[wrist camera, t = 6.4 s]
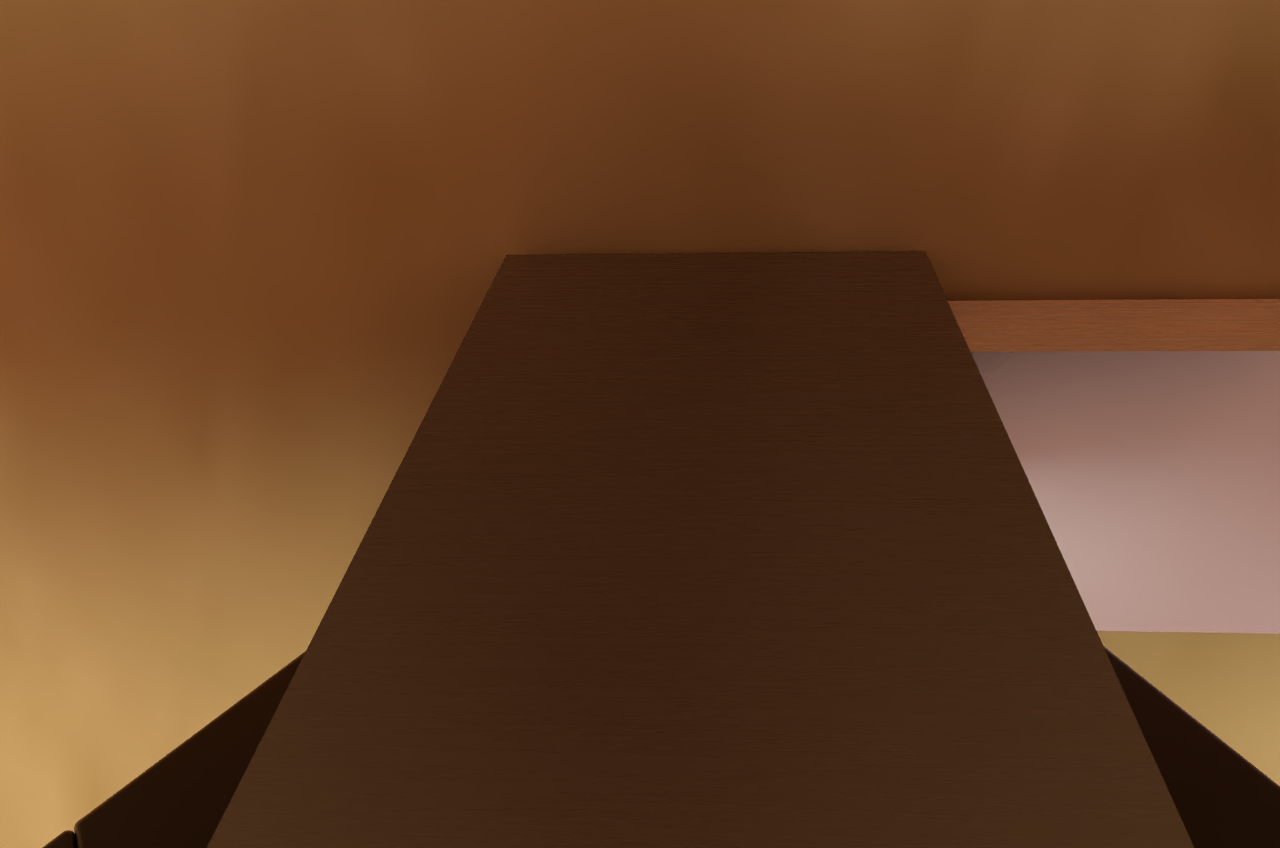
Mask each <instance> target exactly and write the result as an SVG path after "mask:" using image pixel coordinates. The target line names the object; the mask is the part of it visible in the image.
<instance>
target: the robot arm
mask: <svg viewBox="0 0 1280 848" xmlns="http://www.w3.org/2000/svg"><path fill="white" fill-rule="evenodd" d="M1103 647H1104V646H1103ZM1104 649H1105V651H1106V653H1107V655H1108V658H1109V660H1110V662H1111V664H1112V667H1113V669H1114V671H1115V673H1116V675H1117V678H1118V680H1119V682H1120V684H1121V686H1122V689H1123V691H1124V693H1125V695H1126V698H1127V700H1128V702H1129V704H1130V706H1131V709H1132V711H1133V713H1134V715H1135V718H1136V720H1137V722H1138V724H1139V726H1140V729H1141V731H1142V733H1143V735H1144V737H1145V740H1146V742H1147V744H1148V746H1149V749H1150V751H1151V753H1152V755H1153V757H1154V760H1155V762H1156V764H1157V766H1158V769H1159V771H1160V773H1161V775H1162V777H1163V780H1164V782H1165V784H1166V786H1167V788H1168V791H1169V793H1170V795H1171V797H1172V800H1173V802H1174V804H1175V806H1176V808H1177V811H1178V813H1179V815H1180V817H1181V819H1182V822H1183V824H1184V826H1185V828H1186V831H1187V833H1188V835H1189V837H1190V839H1191V842H1192V844H1193V846H1194V848H1280V786H1278V785H1277V784H1276V783H1275V782H1273V781H1272V780H1271V779H1270V778H1268V777H1267V776H1266V775H1265V774H1263V773H1262V772H1261V771H1260V770H1258V769H1257V768H1256V767H1255V766H1253V765H1252V764H1251V763H1250V762H1248V761H1247V760H1246V759H1245V758H1243V757H1242V756H1241V755H1240V754H1238V753H1237V752H1236V751H1235V750H1233V749H1232V748H1231V747H1229V746H1228V745H1227V744H1226V743H1224V742H1223V741H1222V740H1221V739H1219V738H1218V737H1217V736H1216V735H1214V734H1213V733H1212V732H1211V731H1209V730H1208V729H1207V728H1206V727H1204V726H1203V725H1202V724H1201V723H1199V722H1198V721H1197V720H1196V719H1194V718H1193V717H1192V716H1191V715H1189V714H1188V713H1187V712H1186V711H1184V710H1183V709H1182V708H1181V707H1179V706H1178V705H1177V704H1175V703H1174V702H1173V701H1172V700H1170V699H1169V698H1168V697H1167V696H1165V695H1164V694H1163V693H1162V692H1160V691H1159V690H1158V689H1157V688H1155V687H1154V686H1153V685H1152V684H1150V683H1149V682H1148V681H1147V680H1145V679H1144V678H1143V677H1142V676H1140V675H1139V674H1138V673H1137V672H1135V671H1134V670H1133V669H1132V668H1130V667H1129V666H1128V665H1127V664H1125V663H1124V662H1123V661H1121V660H1120V659H1119V658H1118V657H1116V656H1115V655H1114V654H1113V653H1111V652H1110V651H1109V650H1108V649H1106V648H1105V647H1104ZM305 652H306V651H305ZM305 652H304V653H303V654H301V655H300V656H299V657H297V658H296V659H295V660H293V661H292V662H291V663H289V664H288V665H287V666H285V667H284V668H283V669H281V670H280V671H279V672H277V673H276V674H274V675H273V676H272V677H270V678H269V679H268V680H266V681H265V682H264V683H262V684H261V685H260V686H258V687H257V688H256V689H254V690H253V691H252V692H250V693H249V694H248V695H246V696H245V697H244V698H242V699H241V700H240V701H238V702H237V703H236V704H234V705H233V706H232V707H230V708H229V709H228V710H226V711H225V712H224V713H222V714H221V715H220V716H218V717H217V718H216V719H214V720H213V721H212V722H210V723H209V724H208V725H206V726H205V727H204V728H202V729H201V730H200V731H198V732H197V733H196V734H194V735H193V736H192V737H190V738H189V739H188V740H186V741H185V742H184V743H182V744H181V745H180V746H178V747H177V748H176V749H174V750H173V751H172V752H170V753H169V754H168V755H166V756H165V757H163V758H162V759H161V760H159V761H158V762H157V763H155V764H154V765H153V766H151V767H150V768H149V769H147V770H146V771H145V772H143V773H142V774H141V775H139V776H138V777H137V778H135V779H134V780H133V781H131V782H130V783H129V784H127V785H126V786H125V787H123V788H122V789H121V790H119V791H118V792H117V793H115V794H114V795H113V796H111V797H110V798H109V799H107V800H106V801H105V802H103V803H102V804H101V805H99V806H98V807H97V808H95V809H94V810H93V811H91V812H90V813H89V814H87V815H86V816H85V817H83V818H82V819H81V820H79V821H78V822H77V823H76V824H75V827H74V832H75V834H74V832H72V831H70V830H67V831H64V832H63V833H61V834H60V835H59V836H57V837H56V838H55V839H53V840H52V841H51V842H49V843H48V844H47V845H45V846H44V847H43V848H207V846H208V844H209V842H210V840H211V838H212V836H213V834H214V832H215V830H216V828H217V826H218V824H219V822H220V821H221V819H222V817H223V815H224V813H225V811H226V809H227V807H228V805H229V803H230V801H231V799H232V797H233V795H234V793H235V791H236V789H237V787H238V785H239V783H240V781H241V779H242V777H243V775H244V773H245V771H246V769H247V767H248V765H249V763H250V761H251V759H252V757H253V755H254V753H255V751H256V749H257V747H258V745H259V743H260V741H261V739H262V737H263V735H264V733H265V732H266V730H267V728H268V726H269V724H270V722H271V720H272V718H273V716H274V714H275V712H276V710H277V708H278V706H279V704H280V702H281V700H282V698H283V696H284V694H285V692H286V690H287V688H288V686H289V684H290V682H291V680H292V678H293V676H294V674H295V672H296V670H297V668H298V666H299V664H300V662H301V660H302V658H303V656H304V654H305Z"/></svg>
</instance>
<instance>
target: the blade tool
mask: <svg viewBox="0 0 1280 848" xmlns="http://www.w3.org/2000/svg"><path fill="white" fill-rule="evenodd" d="M1097 631H1127V632H1193V633H1260V634H1280V299H1152V300H984V301H947V298H946V296H945V294H944V292H943V290H942V287H941V285H940V283H939V281H938V278H937V276H936V274H935V272H934V270H933V267H932V265H931V263H930V261H929V259H928V256H927V254H926V252H925V251H908V252H798V253H688V254H578V255H506V257H505V259H504V261H503V263H502V265H501V267H500V269H499V271H498V273H497V275H496V277H495V279H494V281H493V283H492V285H491V287H490V289H489V290H488V292H487V294H486V296H485V298H484V300H483V302H482V304H481V306H480V308H479V310H478V312H477V314H476V316H475V318H474V320H473V322H472V324H471V326H470V328H469V330H468V332H467V334H466V336H465V338H464V340H463V342H462V344H461V346H460V348H459V350H458V352H457V354H456V356H455V358H454V360H453V362H452V364H451V366H450V368H449V370H448V372H447V374H446V376H445V377H444V379H443V381H442V383H441V385H440V387H439V389H438V391H437V393H436V395H435V397H434V399H433V401H432V403H431V405H430V407H429V409H428V411H427V413H426V415H425V417H424V419H423V421H422V423H421V425H420V427H419V429H418V431H417V433H416V435H415V437H414V439H413V441H412V443H411V445H410V447H409V449H408V451H407V453H406V455H405V457H404V459H403V461H402V463H401V465H400V466H399V468H398V470H397V472H396V474H395V476H394V478H393V480H392V482H391V484H390V486H389V488H388V490H387V492H386V494H385V496H384V498H383V500H382V502H381V504H380V506H379V508H378V510H377V512H376V514H375V516H374V518H373V520H372V522H371V524H370V526H369V528H368V530H367V532H366V534H365V536H364V538H363V540H362V542H361V544H360V546H359V548H358V550H357V552H356V554H355V555H354V557H353V559H352V561H351V563H350V565H349V567H348V569H347V571H346V573H345V575H344V577H343V579H342V581H341V583H340V585H339V587H338V589H337V591H336V593H335V595H334V597H333V599H332V601H331V603H330V605H329V607H328V609H327V611H326V613H325V615H324V617H323V619H322V621H321V623H320V625H319V627H318V629H317V631H316V633H315V635H314V637H313V639H312V641H311V643H310V644H309V646H308V648H307V650H306V652H305V654H304V656H303V658H302V660H301V662H300V664H299V666H298V668H297V670H296V672H295V674H294V676H293V678H292V680H291V682H290V684H289V686H288V688H287V690H286V692H285V694H284V696H283V698H282V700H281V702H280V704H279V706H278V708H277V710H276V712H275V714H274V716H273V718H272V720H271V722H270V724H269V726H268V728H267V730H266V732H265V733H264V735H263V737H262V739H261V741H260V743H259V745H258V747H257V749H256V751H255V753H254V755H253V757H252V759H251V761H250V763H249V765H248V767H247V769H246V771H245V773H244V775H243V777H242V779H241V781H240V783H239V785H238V787H237V789H236V791H235V793H234V795H233V797H232V799H231V801H230V803H229V805H228V807H227V809H226V811H225V813H224V815H223V817H222V819H221V821H220V822H219V824H218V826H217V828H216V830H215V832H214V834H213V836H212V838H211V840H210V842H209V844H208V846H207V848H1194V846H1193V844H1192V842H1191V839H1190V837H1189V835H1188V833H1187V831H1186V828H1185V826H1184V824H1183V822H1182V819H1181V817H1180V815H1179V813H1178V811H1177V808H1176V806H1175V804H1174V802H1173V800H1172V797H1171V795H1170V793H1169V791H1168V788H1167V786H1166V784H1165V782H1164V780H1163V777H1162V775H1161V773H1160V771H1159V769H1158V766H1157V764H1156V762H1155V760H1154V757H1153V755H1152V753H1151V751H1150V749H1149V746H1148V744H1147V742H1146V740H1145V737H1144V735H1143V733H1142V731H1141V729H1140V726H1139V724H1138V722H1137V720H1136V718H1135V715H1134V713H1133V711H1132V709H1131V706H1130V704H1129V702H1128V700H1127V698H1126V695H1125V693H1124V691H1123V689H1122V686H1121V684H1120V682H1119V680H1118V678H1117V675H1116V673H1115V671H1114V669H1113V667H1112V664H1111V662H1110V660H1109V658H1108V655H1107V653H1106V651H1105V649H1104V647H1103V644H1102V642H1101V640H1100V638H1099V635H1098V633H1097Z"/></svg>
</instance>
